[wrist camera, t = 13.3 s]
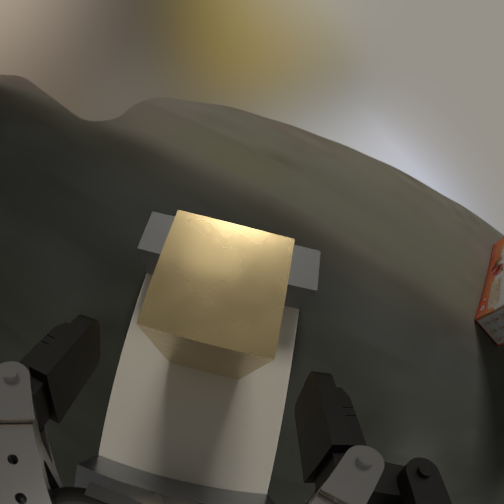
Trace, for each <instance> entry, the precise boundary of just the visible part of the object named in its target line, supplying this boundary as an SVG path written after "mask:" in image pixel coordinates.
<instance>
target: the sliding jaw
mask: <svg viewBox="0 0 504 504" xmlns="http://www.w3.org/2000/svg"><path fill="white" fill-rule="evenodd" d="M90 481H91V482H94V483H96V484H99V485H101V486H104V487H106V488H109V489H112V490H114V491H117V492H120V493H123V494H125V495H127V496H129V497H131V498H132V499H134V500H136V501H138V502H140V503H142V504H274V502H273V501H272V500H271V498H270V497H269V496H268V495H267V494H259V493H249V492H241V491H233V490H226V489H220V488H214V487H208V486H203V485H198V484H193V483H188V482H184V481H180V480H175V479H171V478H168V477H164V476H160V475H156V474H153V473H149V472H146V471H143V470H140V469H136V468H133V467H130V466H127V465H124V464H122V463H119V462H116V461H113V460H111V459H108V458H105V457H103V456H100V455H96V456H94V457H92V458H90V459H88V460H85V461H83V462H81V463H79V464H77V469H76V476H75V484H74V487H80V488H87V486H88V484H89V482H90Z"/></svg>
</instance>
